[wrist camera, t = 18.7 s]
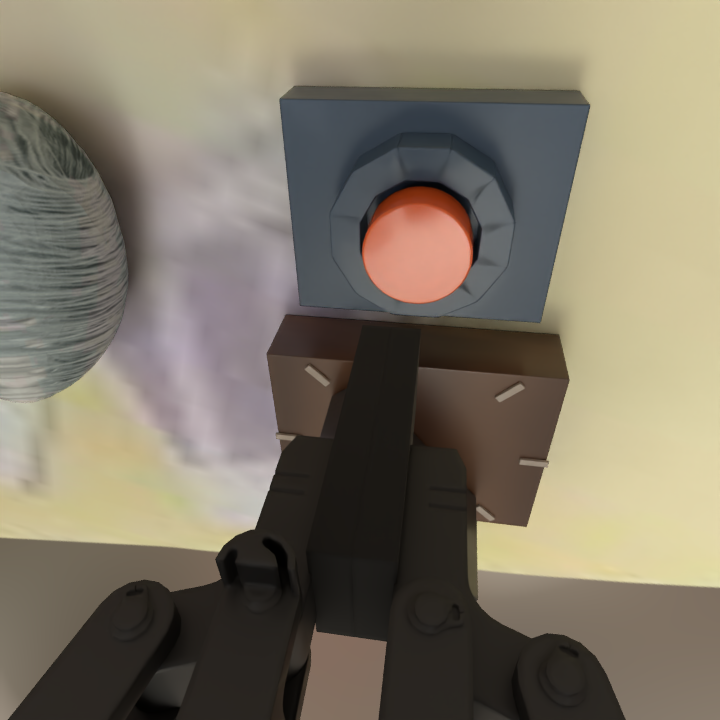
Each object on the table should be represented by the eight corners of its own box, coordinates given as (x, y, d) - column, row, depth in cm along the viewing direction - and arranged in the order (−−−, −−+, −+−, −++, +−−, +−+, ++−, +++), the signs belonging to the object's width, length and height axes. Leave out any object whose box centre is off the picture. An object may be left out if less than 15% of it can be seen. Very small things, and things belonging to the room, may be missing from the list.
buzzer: (310, 283, 27) (289, 327, 24) (293, 85, 22) (264, 110, 18) (535, 297, 26) (545, 347, 23) (580, 90, 20) (601, 118, 17)
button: (368, 278, 22) (362, 301, 21) (367, 183, 20) (360, 201, 18) (466, 284, 22) (466, 308, 20) (478, 187, 19) (479, 206, 18)
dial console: (302, 471, 36) (288, 516, 33) (280, 288, 28) (258, 328, 25) (519, 495, 34) (524, 546, 32) (568, 307, 26) (581, 353, 23)
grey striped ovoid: (-174, 22, 20) (-269, 217, 15) (114, 61, 23) (116, 230, 18) (-51, 274, 30) (-81, 435, 25) (133, 275, 34) (137, 417, 29)
